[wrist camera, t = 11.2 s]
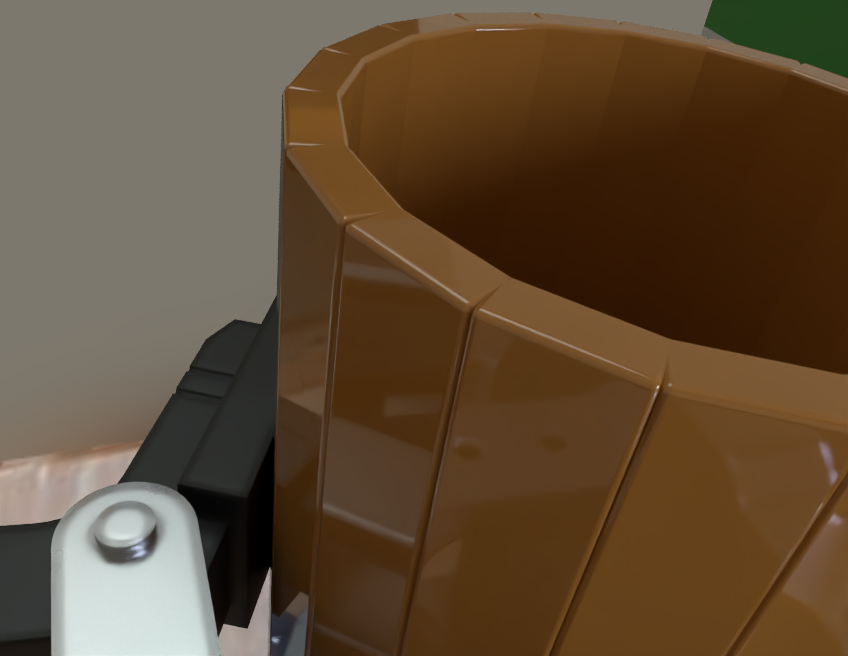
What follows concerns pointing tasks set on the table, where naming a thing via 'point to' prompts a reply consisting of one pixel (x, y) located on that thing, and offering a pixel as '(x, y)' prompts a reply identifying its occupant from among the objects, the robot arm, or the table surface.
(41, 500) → the table surface
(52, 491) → the table surface
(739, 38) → the hardback book
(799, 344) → the tumbler
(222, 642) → the table surface
